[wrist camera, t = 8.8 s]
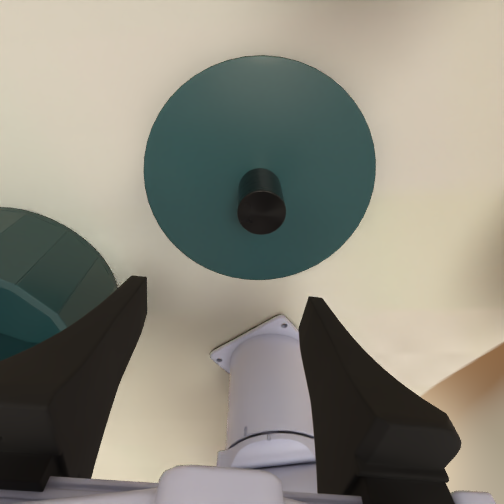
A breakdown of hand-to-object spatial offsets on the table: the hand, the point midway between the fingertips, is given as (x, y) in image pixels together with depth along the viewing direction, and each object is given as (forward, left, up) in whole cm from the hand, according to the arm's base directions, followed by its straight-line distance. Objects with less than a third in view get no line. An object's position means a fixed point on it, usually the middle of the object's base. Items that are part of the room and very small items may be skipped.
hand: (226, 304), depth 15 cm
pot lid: (+1, -3, -9) cm, 9 cm away
